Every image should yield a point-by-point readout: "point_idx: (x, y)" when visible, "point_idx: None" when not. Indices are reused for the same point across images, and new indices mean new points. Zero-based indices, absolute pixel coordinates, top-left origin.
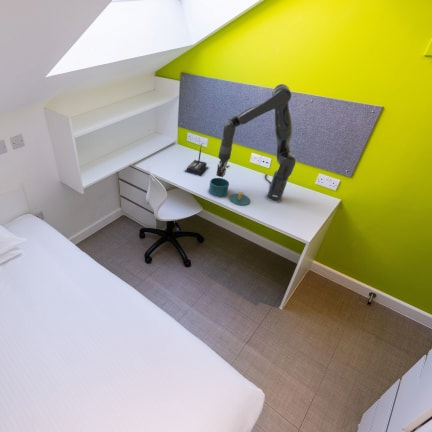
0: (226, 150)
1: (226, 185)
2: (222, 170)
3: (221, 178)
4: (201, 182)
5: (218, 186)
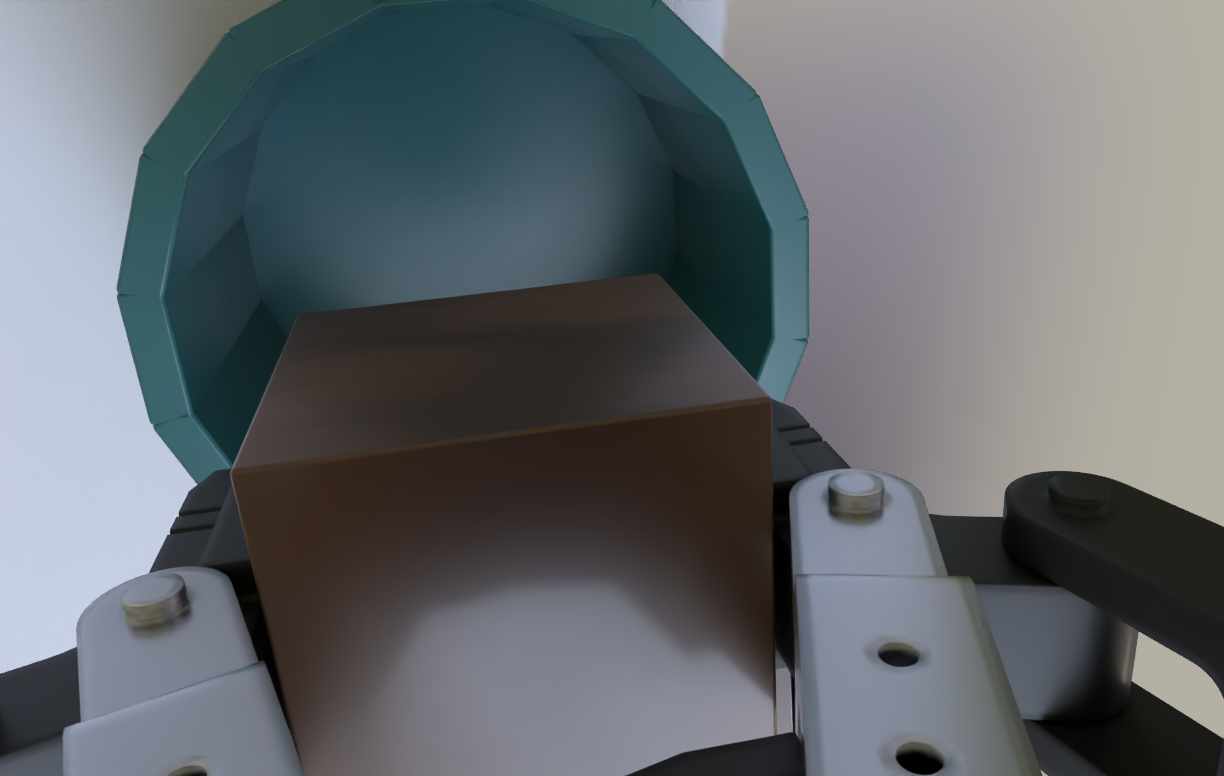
0: None
1: (263, 95)
2: (712, 527)
3: (173, 405)
4: None
5: (783, 212)
